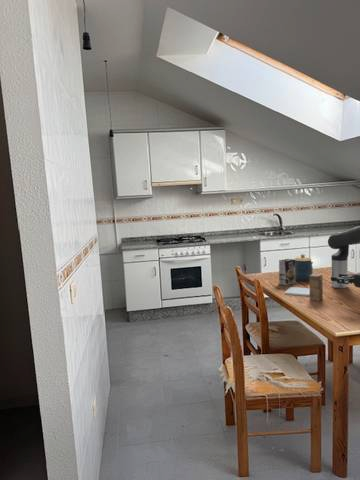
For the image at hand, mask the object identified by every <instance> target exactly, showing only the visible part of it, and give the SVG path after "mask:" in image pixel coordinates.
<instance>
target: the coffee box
mask: <svg viewBox="0 0 360 480" xmlns="http://www.w3.org/2000/svg"><path fill="white" fill-rule="evenodd" d="M294 259H295V258H294ZM294 259H292V258H286V259H279V260H278V284H279V285H283V286H290V285H293V284H296V280H295V260H294Z"/></svg>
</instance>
